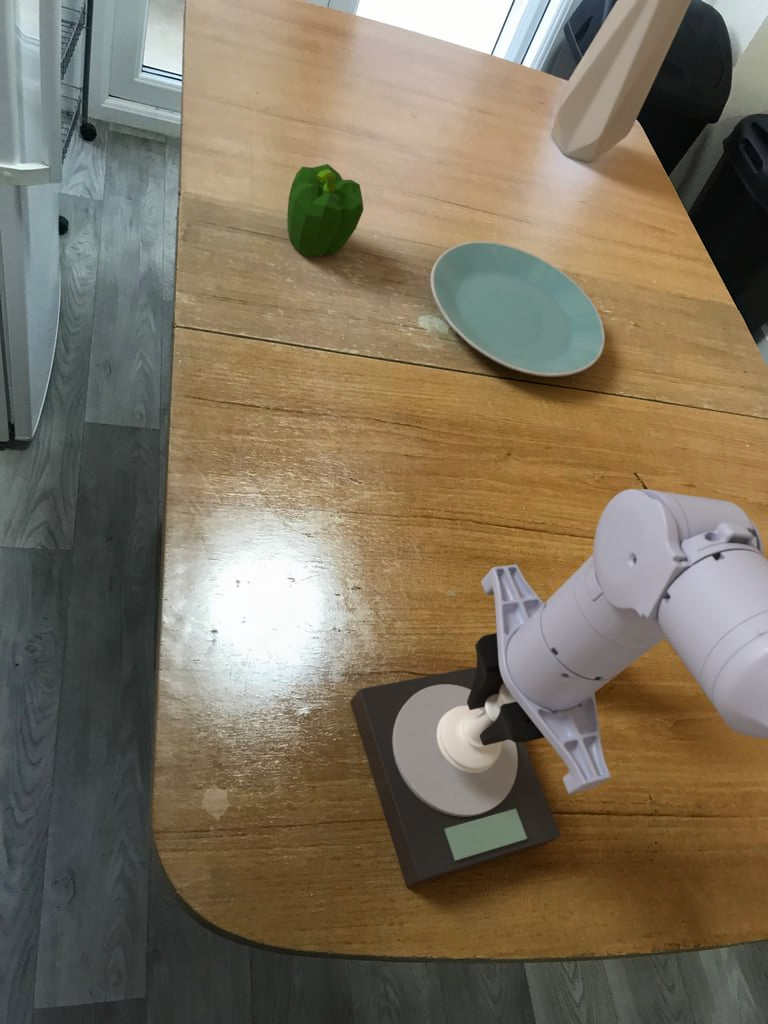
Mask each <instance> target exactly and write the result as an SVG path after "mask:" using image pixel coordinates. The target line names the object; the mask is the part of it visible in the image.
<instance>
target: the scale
mask: <svg viewBox="0 0 768 1024" xmlns="http://www.w3.org/2000/svg"><path fill="white" fill-rule="evenodd" d="M476 668H477V666H474V667H469V668H464V669H459V670H454V671H453V670H452V671H447V672H443V673H442V672H441V673H437V674H432V675H427V676H421V677H416V678H410V679H405V680H400V681H396V682H395V681H394V682H389V683H385V684H380V685H375V686H369V687H368V686H367V687H363V688H359V689H358V690H357V692H356V693H355V694H354V696H353V697H352V698H351V700H350V701H349V703H350V707H351V710H352V713H353V716H354V719H355V722H356V726H357V729H358V733H359V735H360V738H361V742H362V747H363V749H364V752H365V756H366V760H367V763H368V765H369V766H368V767H369V769H370V772H371V775H372V778H373V782H374V785H375V789H376V792H377V795H378V799H379V801H380V805H381V808H382V811H383V814H384V818H385V821H386V824H387V827H388V831H389V835H390V838H391V840H392V844H393V848H394V850H395V854H396V858H397V860H398V864H399V867H400V870H401V873H402V877H403V879H404V884H405V887H406V889H409V888H412V887H414V886H415V887H416V886H418V885H422V884H424V883H427V882H432V881H435V880H437V879H441V878H444V877H447V876H451V875H454V874H457V873H461V872H463V871H467V870H469V869H473V868H476V867H480V866H482V865H486V864H489V863H492V862H495V861H498V860H501V859H505V858H507V857H512V856H514V855H518V854H521V853H525V852H527V851H532V850H534V849H537V848H540V847H543V846H546V845H548V844H550V843H552V842H554V841H556V840H557V839H560V838H561V837H562V834H561V832H560V829H559V827H558V824H557V821H556V818H555V817H554V813H553V812H552V809H551V807H550V804H549V801H548V800H547V797H546V794H545V792H544V789H543V786H542V784H541V782H540V779H539V777H538V774H537V772H536V770H535V767H534V765H533V762H532V759H531V757H530V754H529V752H528V749H527V747H526V745H525V742H513V741H511V740H506V741H502V746H501V752H500V755H499V757H498V758H497V760H496V761H495V763H494V764H493V765H492V766H491V767H490V768H489V769H487V770H485V771H483V772H479V773H468V772H464V771H462V770H459V769H458V768H456V767H454V766H453V765H452V764H451V763H449V762H448V761H447V759H446V758H445V757H444V755H443V754H442V752H441V750H440V748H439V745H438V742H437V727H438V724H439V721H440V720H441V718H442V717H443V716H444V715H445V714H446V713H447V712H448V711H450V710H452V709H453V708H455V707H458V706H468V704H467V700H468V697H469V694H470V692H471V689H472V686H473V683H474V679H475V675H476ZM478 709H480V710H482V711H484V712H485V711H486V710H485V707H482V708H478Z"/></svg>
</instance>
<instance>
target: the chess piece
mask: <svg viewBox="0 0 768 1024" xmlns="http://www.w3.org/2000/svg"><path fill="white" fill-rule="evenodd" d="M512 702H517V701H516V700H515V698H514V697H513V696H512V695H511V693H510V692H509V690H508V689H507V687H506V685H505V683H503V684H502V686H501V688H500V691H499V694H494V695H491V696H489V697H488V698H487V700H486V702H485V710H486V711H485V712H484V711H482V710H480V709H473V710H469V707H468V706H458V707H455V708H453V709H452V710H450V711H448V712H447V713H446V714H445V715H444V716H443V717H442V718H441V720H440V721H439V724H438V727H437V742H438V745H439V748H440V750H441V752H442V754H443V755H444V757H445V758H446V759H447V761H448V762H449V763H451V764H452V765H453V766H454V767H456V768H458V769H459V770H462V771H464V772H468V773H479V772H483V771H485V770H487V769H489V768H490V767H491V766H492V765H493V764H494V763H495V761H496V760H497V758H498V757H499V755H500V752H501V746H502V742H498V743H493V744H489V745H485V746H484V745H483V744H482V742H481V739H480V734H481V733H482V732H483V731H484V730H485V729H486V728H488V727H489V726H490V725H492V724H493V723H494V721H495V720H496V719H497V717H498V715H499V713H500V707H501V706H502V705H503V704H507V703H512Z"/></svg>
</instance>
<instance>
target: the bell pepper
mask: <svg viewBox="0 0 768 1024" xmlns="http://www.w3.org/2000/svg"><path fill="white" fill-rule="evenodd" d="M363 212H364V201H363V194H362V189H361V185H360V183H358V182H356V181H354V180H352V179H343V178H342V176H341V174H340V173H339V172H338V171H337V170H336V169H334V168H333V167H332V166H331V165H330V164H328V163H325V164H323V165H317V166H314V167H309V166H301V168H300V169H299V170H298V171H297V172H296V174H295V175H294V178H293V181H292V183H291V187H290V191H289V195H288V205H287V215H286V216H287V217H286V222H287V225H286V226H287V234H288V238H289V241H290V244H291V246H292V247H293V248H294V249H295V250H296V251H297V252H299V253H300V254H302V255H304V256H306V257H308V258H320V257H321V256H323V255H328V256H331V255H335V254H337V253H339V252H340V251H341V250H342V249H343V247H344V246H345V245H346V244H347V242H348V241H349V240H350V238H351V237H352V235H353V234H354V232H355V230H356V229H357V226H358V225H359V223H360V219H361V218H362V215H363Z"/></svg>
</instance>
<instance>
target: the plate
mask: <svg viewBox="0 0 768 1024" xmlns="http://www.w3.org/2000/svg"><path fill="white" fill-rule="evenodd" d="M429 281H430V289H431V293H432V298H433V300H434V303H435V305H436V307H437V308H438V311H439V313H440V314H441V315H442V317H443V318H444V320H445V321H446V323H447V324H448V326H450V327H451V329H452V331H454V332H455V333H456V334H457V335H458V336H459V337H460V338H461V339H462V340H463V341H464V342H466V343H467V344H468V345H469V346H470V347H472V348H473V349H474V350H475V351H477V352H478V353H480V354H481V355H483V357H486V358H488V359H489V360H491V361H493V362H495V363H497V364H499V365H501V366H502V367H505V368H508V369H510V370H513V371H516V372H520V373H522V374H526V375H530V376H534V377H535V376H536V377H543V378H544V377H545V378H546V377H547V378H559V377H560V378H561V377H562V378H563V377H567V376H572V375H576V374H579V373H581V372H584V371H586V370H588V369H589V368H590V367H592V366H594V364H596V363H597V361H598V360H599V359H600V357H601V356H602V354H603V351H604V348H605V343H606V341H605V340H606V334H605V333H606V332H605V328H604V323H603V320H602V317H601V315H600V313H599V311H598V309H597V307H596V305H595V304H594V303H593V300H592V299H591V298H590V297H589V295H588V294H587V293H586V292H585V290H583V289H582V287H581V286H579V284H578V283H577V282H575V280H574V279H573V278H571V277H570V276H568V275H567V273H565V272H564V271H562V270H561V269H560V268H558V267H556V266H554V265H553V264H552V263H550V262H548V261H546V260H545V259H544V258H541V257H539V256H537V255H536V254H533V253H531V252H529V251H526V250H524V249H521V248H518V247H515V246H513V245H509V244H505V243H500V242H495V241H483V240H482V241H469V242H464V243H460V244H456V245H454V246H452V247H450V248H448V249H447V250H445V251H444V252H443V253H441V254H440V255H439V256H438V258H437V259H436V260H435V262H434V264H433V266H432V269H431V273H430V280H429Z"/></svg>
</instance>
